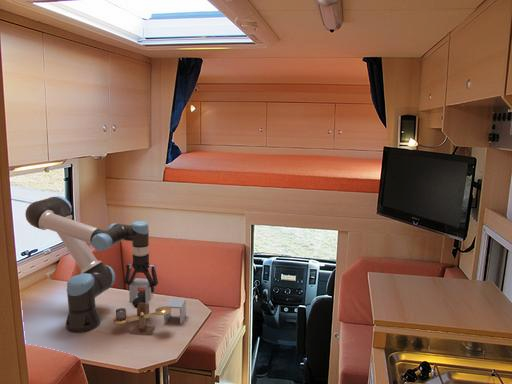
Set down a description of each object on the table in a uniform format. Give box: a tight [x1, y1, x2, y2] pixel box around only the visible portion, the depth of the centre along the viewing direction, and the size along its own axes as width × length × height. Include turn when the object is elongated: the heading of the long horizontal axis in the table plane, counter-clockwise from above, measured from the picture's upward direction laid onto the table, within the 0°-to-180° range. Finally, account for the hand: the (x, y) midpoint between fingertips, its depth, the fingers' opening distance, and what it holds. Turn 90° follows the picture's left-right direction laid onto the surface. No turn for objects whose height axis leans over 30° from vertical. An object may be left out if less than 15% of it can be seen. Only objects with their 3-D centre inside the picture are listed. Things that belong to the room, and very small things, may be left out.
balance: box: [113, 305, 172, 336], centre depth 186 cm, size 27×7×11 cm, turn 86°
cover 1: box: [128, 277, 154, 304], centre depth 196 cm, size 9×9×9 cm
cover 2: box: [163, 297, 187, 325], centre depth 197 cm, size 9×9×9 cm
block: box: [136, 302, 150, 321], centre depth 198 cm, size 4×4×7 cm
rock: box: [131, 289, 146, 307], centre depth 214 cm, size 9×10×6 cm
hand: (141, 297), depth 197 cm, fingers closed on cover 1, 9 cm apart
